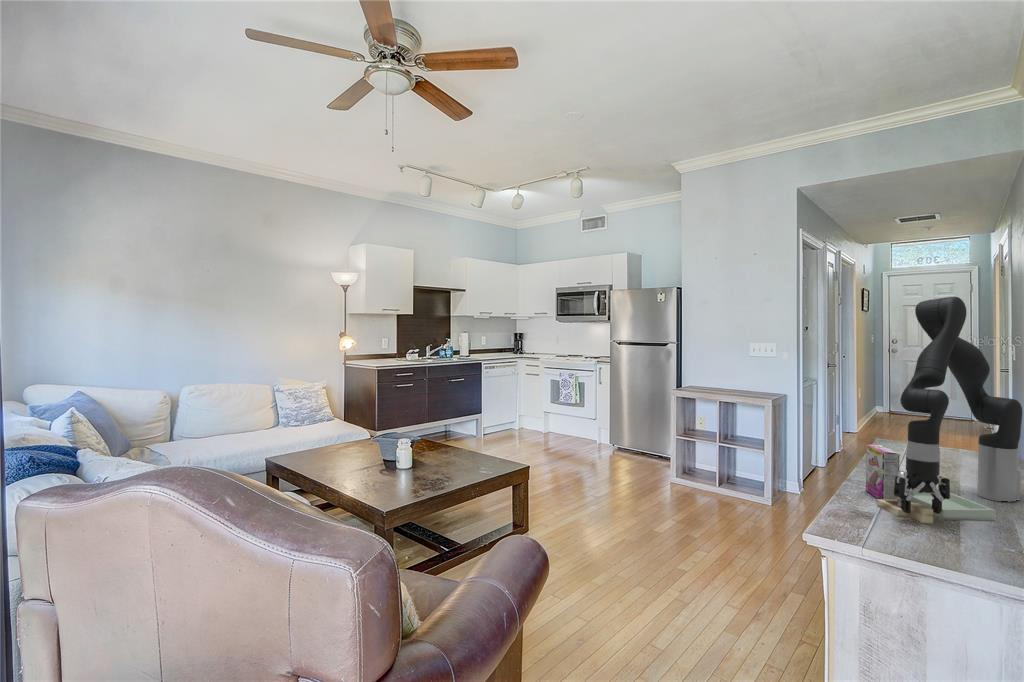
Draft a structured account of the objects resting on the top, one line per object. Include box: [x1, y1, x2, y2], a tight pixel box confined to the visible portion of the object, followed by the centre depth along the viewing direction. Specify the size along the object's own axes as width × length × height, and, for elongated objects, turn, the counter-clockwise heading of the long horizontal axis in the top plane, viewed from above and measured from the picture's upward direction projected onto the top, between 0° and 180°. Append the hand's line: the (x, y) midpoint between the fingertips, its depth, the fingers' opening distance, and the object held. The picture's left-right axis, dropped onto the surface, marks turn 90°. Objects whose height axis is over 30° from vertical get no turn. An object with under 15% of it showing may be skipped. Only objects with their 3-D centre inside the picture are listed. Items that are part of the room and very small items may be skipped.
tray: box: [909, 487, 996, 521], centre depth 153 cm, size 15×20×3 cm
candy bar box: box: [865, 444, 900, 499], centre depth 162 cm, size 11×5×16 cm, turn 168°
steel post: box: [897, 470, 908, 508], centre depth 150 cm, size 2×2×12 cm
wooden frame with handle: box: [875, 498, 934, 524], centre depth 148 cm, size 14×9×4 cm, turn 179°
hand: (921, 512), depth 143 cm, fingers open, 8 cm apart
